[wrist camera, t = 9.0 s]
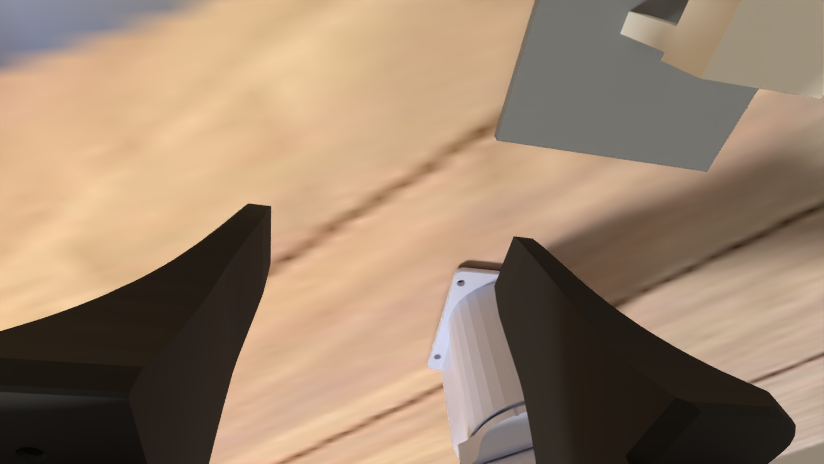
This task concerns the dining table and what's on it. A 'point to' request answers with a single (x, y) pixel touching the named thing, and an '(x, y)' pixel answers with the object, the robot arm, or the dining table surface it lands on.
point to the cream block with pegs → (742, 42)
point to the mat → (614, 89)
